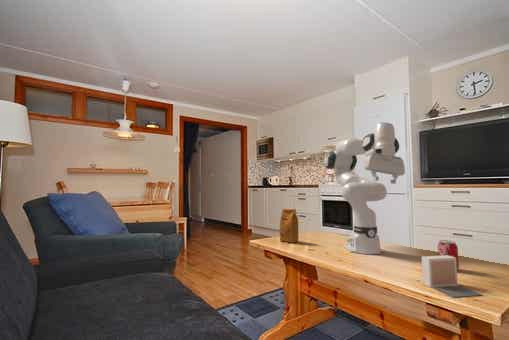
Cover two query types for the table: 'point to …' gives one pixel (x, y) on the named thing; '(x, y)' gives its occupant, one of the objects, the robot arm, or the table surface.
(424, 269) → the tile
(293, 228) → the coffee package
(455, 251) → the soda can
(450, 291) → the mat
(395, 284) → the table surface
